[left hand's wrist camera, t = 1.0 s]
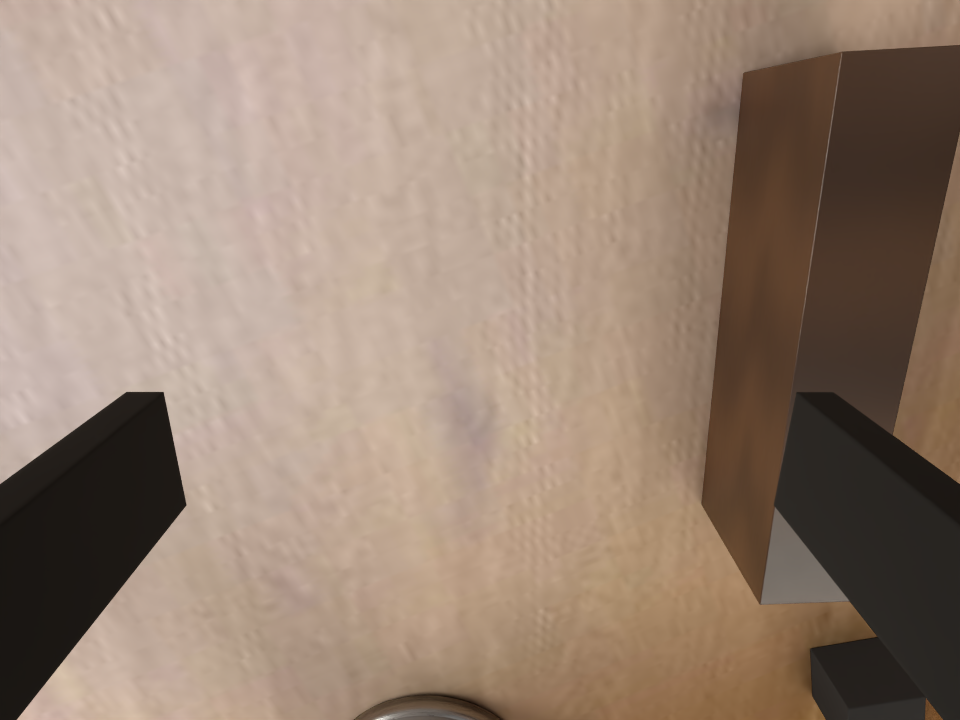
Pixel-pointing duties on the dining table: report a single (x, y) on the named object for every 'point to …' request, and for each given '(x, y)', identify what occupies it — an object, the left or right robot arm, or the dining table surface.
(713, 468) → the walnut box
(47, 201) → the dining table surface
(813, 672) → the rubber block
